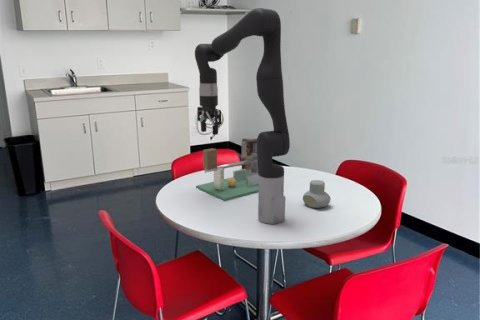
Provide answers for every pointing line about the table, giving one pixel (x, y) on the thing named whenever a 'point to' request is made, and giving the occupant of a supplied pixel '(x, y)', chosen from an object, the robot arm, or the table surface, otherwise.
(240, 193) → the pitch
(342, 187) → the table surface
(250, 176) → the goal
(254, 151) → the coffee box
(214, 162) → the rod
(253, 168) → the rod support
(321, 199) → the air freshener
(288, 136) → the robot arm
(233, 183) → the ball
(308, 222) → the table surface
